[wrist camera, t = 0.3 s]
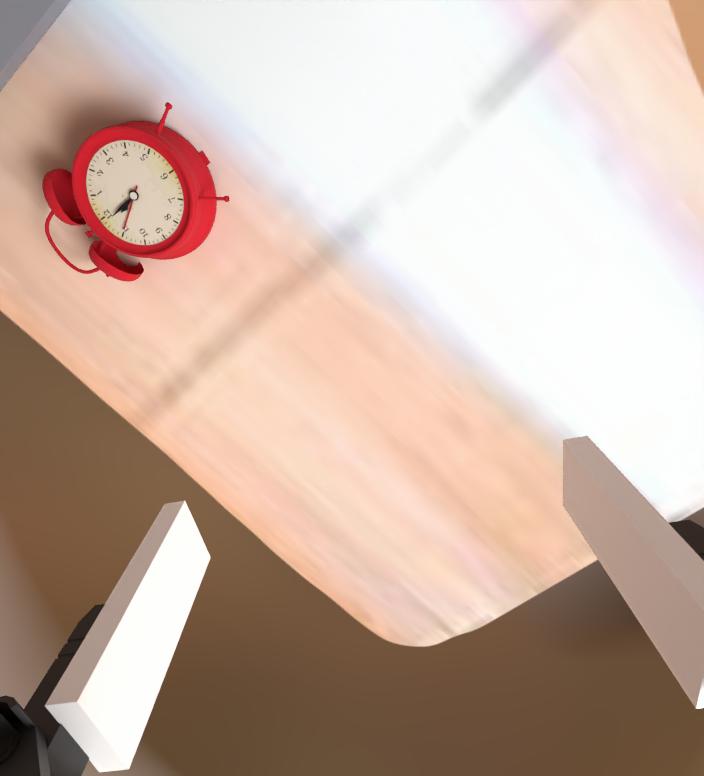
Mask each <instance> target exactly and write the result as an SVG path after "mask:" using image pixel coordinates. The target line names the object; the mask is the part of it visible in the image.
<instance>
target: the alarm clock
mask: <svg viewBox="0 0 704 776" xmlns="http://www.w3.org/2000/svg"><path fill="white" fill-rule="evenodd" d="M165 106H166V110H165V112H164V114H163V117H162V119H161V120H160V122H159V124H155V123H151V122H145V121H132V122H127V123H123V124H120V125H117V126H110V127H107V128H104V129H102V130H100V131H98V132H96V133H95V134H93V135H92V136H91V137H89V138H88V139H87V140H86V141H85V142H84V143H83V145H82V146H81V147H80V149H79V151H78V153H77V155H76V157H75V160H74V164H73V170H72V174H71V173H70V172H68V171H67V170H64V169H55V170H52V171H50V172H48V173H47V174H46V175H45V176H44V179H43V191H44V195H45V198H46V201H47V203H48V205H49V207H50V208H51V210H52V211H51V212H50V214H49V216H48V217H47V219H46V223H45V232H46V235H47V238H48V240H49V242H50V243H51V245H52V247H53V248H54V250H55V251H56V252H57V254H58V255H59V256H60V257H61V258H62V259H63V260H64V261H65V262H66V263H67V264H68V265H69V266H70V267H71V268H73V269H74V270H76V271H78V272H81V273H84V274H90V273H94V272H97V271H99V270H101V271H103V272H104V273H106V276H107V277H109V276H111V277H113V278H115V279H118V280H121V281H134V280H136V279H138V278H139V277H140V276H141V274H142V273H143V271H144V269H143V267H142V265H141V264H140V262H139V263H138V265H137V266H136V267H131V266H128V265H126V264H124V263H123V262H122V261H121V260H120V259H119V257H118V256H117V254H116V252H117V250H118V251H121V252H123V253H126V254H129V255H132V256H136V257H142V258H152V259H161V260H166V259H174V258H178V257H181V256H184V255H186V254H188V253H190V252H192V251H193V250H195V249H196V248H197V247H199V246H200V245H201V244H202V243H203V241H204V240H205V239H206V238H207V236H208V234H209V233H210V231H211V228H212V226H213V223H214V220H215V215H216V205H217V203H216V200H225V202H228V201H229V197H228V196H225V197H216V191H215V186H214V182H213V179H212V176H211V174H210V171H209V169H208V167H207V165H208V164H209V163H210V162H209V160H208V158H207V157H206V155H205V154H204V152H201V153H200V154H199V153H198V151H197V150H196V149H195V148H194V147H193V146H192V145H191V144H190V143H189V142H188V141H187V140H186V139H185V138H183V137H182V136H181V135H179V134H178V133H176V132H175V131H173V130H171V129H169V128H167V127H165V126H163V125H164V123H165V119H166V116H167V114H168V111H169V109H172V105H171V104H170V103H168V102H167V103H166V104H165ZM73 193H74V195H73ZM74 197H75V198H74ZM54 214H55V215H56V216H57V217H58V218H59V219H60V220H61V221H63V222H64V223H67V224H69V225H85V224H86V223H87V224H88V226H89V227H90V228H91V230H92V231H90V232H89V231H87V232H85V233H86V234H87V236H88V237H89V238H90V237H92V235H91V234H93V233H95V234H96V235H97V236H98V237H99V238H100V239H101V240H103V241H94V242H93V243H92V245H91V246H90V250H89V256H90V259H91V260H92V262H93V263H94V264H95V265H96V266H97V267H98V268H95V269H93V270H89V271H84V270H81V269H78V268H77V267H75V266H74V265H73V264H71V263H70V262H69V261H68V260H67V259H66V258H65V257H64V256H63V255H62V254H61V252H60V251H59V250H58V248H57V247H56V245H55V244H54V242H53V240H52V238H51V236H50V233H49V223H50V220H51V218H52V216H53V215H54Z"/></svg>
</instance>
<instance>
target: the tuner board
mask: <svg viewBox="0 0 704 776" xmlns="http://www.w3.org/2000/svg"><path fill="white" fill-rule="evenodd" d="M69 2H70V0H0V91H1V89H2V88H3V87H4V85H5V84H6V83H7V82H8V80H9V79H10V78H11V76H12V75H13V74H14V73H15V71H16V70H17V69H18V67H19V66H20V65H21V64H22V62H23V61H24V60H25V58H26V57H27V56H28V55H29V53H30V52H31V51H32V49H33V48H34V47H35V45H36V44H37V43H38V42H39V40H40V39H41V38H42V36H43V35H44V34H45V33H46V31H47V30H48V29H49V27H50V26H51V25H52V24H53V22H54V21H55V20H56V18H57V17H58V16H59V15H60V13H61V12H62V11H63V9H64V8H65V7H66V6H67V4H68V3H69Z"/></svg>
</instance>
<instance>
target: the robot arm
mask: <svg viewBox="0 0 704 776" xmlns="http://www.w3.org/2000/svg"><path fill="white" fill-rule="evenodd" d="M563 506H564V508H565V509H566V511H567V512H568V514H569V515H570V517H571V518H572V520H573V521H574V523H575V524H576V526H577V528H578V529H579V531H580V532H581V534H582V535H583V537H584V538H585V540H586V541H587V543H588V544H589V546H590V547H591V549H592V550H593V552H594V554H595V555H596V557H597V558H598V560H599V561H600V563H601V564H602V566H603V567H604V569H605V570H606V572H607V573H608V575H609V576H610V578H611V579H612V581H613V582H614V584H615V586H616V587H617V589H618V590H619V592H620V593H621V595H622V596H623V598H624V599H625V601H626V602H627V604H628V605H629V607H630V609H631V610H632V612H633V613H634V615H635V616H636V618H637V619H638V621H639V622H640V624H641V625H642V627H643V628H644V630H645V631H646V633H647V635H648V636H649V638H650V639H651V641H652V642H653V644H654V645H655V647H656V648H657V650H658V651H659V653H660V654H661V656H662V657H663V659H664V661H665V662H666V663H667V665H668V667H669V668H670V670H671V671H672V673H673V674H674V676H675V677H676V679H677V680H678V682H679V683H680V685H681V687H682V688H683V689H684V691H685V693H686V694H687V696H688V697H689V699H690V700H691V702H692V703H693V705H694V706H695V708H696V709H698V708H704V528H703V527H701V526H700V525H698V524H696V523H694V522H693V521H691V520H685V521H678V522H671V523H668V522H667V521H666V520H665V519H664V518H663V517H662V516H661V515H660V514H659V512H658V511H657V510H656V509H655V508H654V507H653V506H652V505H651V504H650V503H649V502H648V501H647V500H646V499H645V497H644V496H643V495H642V494H641V493H640V492H639V491H638V490H637V489H636V488H635V487H634V486H633V485H632V484H631V482H630V481H629V480H628V479H627V478H626V477H625V476H624V475H623V474H622V473H621V472H620V471H619V470H618V468H617V467H616V466H615V465H614V464H613V463H612V462H611V461H610V460H609V459H608V458H607V457H606V456H605V455H604V453H603V452H602V451H601V450H600V449H599V448H598V447H597V446H596V445H595V444H594V443H593V442H592V441H591V440H590V438H589V437H588V436H584V437H578V438H572V439H565V440H563ZM209 560H210V555H209V553H208V551H207V549H206V546H205V544H204V542H203V540H202V537H201V535H200V533H199V531H198V529H197V526H196V524H195V522H194V520H193V517H192V515H191V513H190V511H189V508H188V506H187V504H186V502H185V501H180V502H174V503H167V504H164V506H163V507H162V509H161V511H160V513H159V514H158V516H157V518H156V519H155V521H154V523H153V525H152V526H151V528H150V530H149V531H148V533H147V534H146V536H145V538H144V539H143V541H142V543H141V545H140V546H139V548H138V550H137V551H136V553H135V555H134V556H133V558H132V560H131V561H130V563H129V565H128V566H127V568H126V570H125V572H124V573H123V575H122V577H121V578H120V580H119V582H118V583H117V585H116V587H115V588H114V590H113V592H112V593H111V595H110V597H109V598H108V600H107V602H106V603H105V604H101V605H95V606H94V607H93V608H92V609H91V610H90V611H89V612H88V613H87V614H86V615H85V617H83V618H82V620H80V621H79V623H78V624H77V626H76V628H75V629H74V631H73V632H72V634H71V635H70V637H69V639H68V643H67V644H65V645H64V647H63V648H62V650H61V651H60V653H59V654H58V659H55V661H54V662H53V664H52V666H51V667H50V669H49V670H48V672H47V674H46V675H45V677H44V678H43V680H42V681H41V683H40V685H39V686H38V688H37V689H36V691H35V693H34V694H33V696H32V697H31V699H30V701H29V702H28V704H27V705H26V707H25V709H23V708H22V707H21V706H20V705H19V704H18V703H17V701H16V700H15V699H14V698H13V697H9V696H2V697H0V776H81V775H82V773H83V771H84V769H85V766H86V764H87V762H88V760H90V761H91V763H92V764H93V765H94V766H95V767H96V769H97V770H98V771H99V772H107V771H116V770H125V769H129V767H130V765H131V762H132V760H133V757H134V754H135V752H136V749H137V747H138V744H139V741H140V739H141V736H142V734H143V731H144V728H145V726H146V723H147V721H148V718H149V716H150V713H151V710H152V708H153V705H154V703H155V700H156V697H157V694H158V692H159V689H160V687H161V684H162V682H163V679H164V677H165V674H166V671H167V669H168V666H169V664H170V661H171V659H172V656H173V653H174V650H175V648H176V646H177V643H178V640H179V638H180V635H181V633H182V630H183V627H184V625H185V622H186V620H187V617H188V614H189V612H190V609H191V607H192V604H193V601H194V599H195V596H196V593H197V591H198V589H199V586H200V583H201V581H202V578H203V576H204V573H205V570H206V568H207V565H208V563H209Z"/></svg>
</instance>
